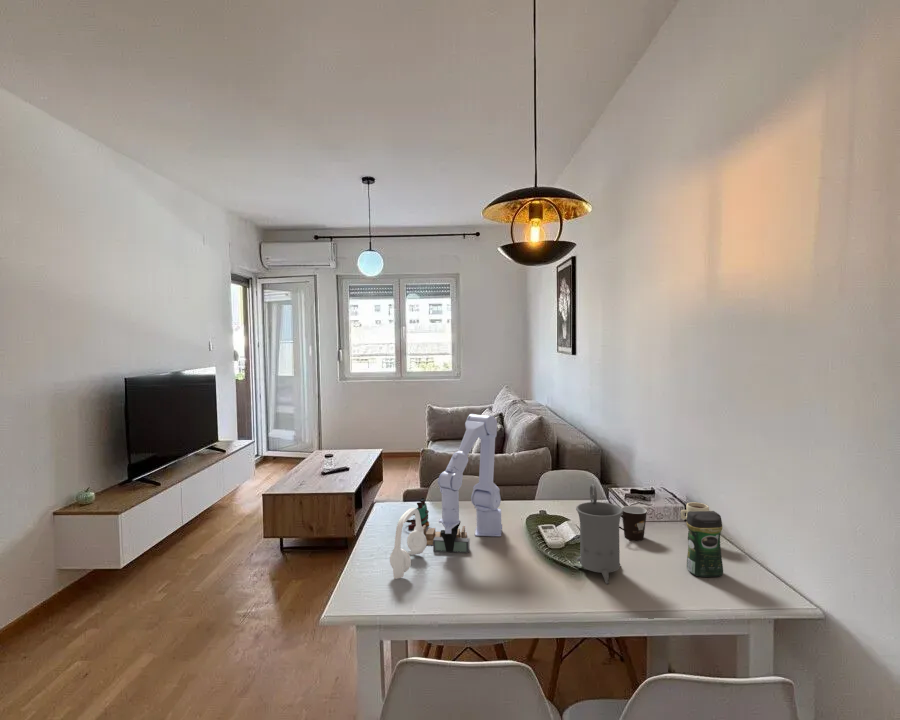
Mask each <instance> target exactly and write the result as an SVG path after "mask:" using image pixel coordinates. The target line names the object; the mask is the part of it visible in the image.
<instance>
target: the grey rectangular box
mask: <svg viewBox="0 0 900 720" xmlns="http://www.w3.org/2000/svg"><path fill="white" fill-rule="evenodd" d="M470 543H471V542H470V538H468V537H466V538H455V542H454V549H453V552H452V553H460V554H461V553H462V554H463V553H465V554H469V552H470V549H471V547H470V546H471V545H470ZM432 549H433V552H440V553H441V552H444V553H448V552H447V551H446V548H445V543H444V540H443V538H442V537H435V538H434V539H433V545H432Z"/></svg>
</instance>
